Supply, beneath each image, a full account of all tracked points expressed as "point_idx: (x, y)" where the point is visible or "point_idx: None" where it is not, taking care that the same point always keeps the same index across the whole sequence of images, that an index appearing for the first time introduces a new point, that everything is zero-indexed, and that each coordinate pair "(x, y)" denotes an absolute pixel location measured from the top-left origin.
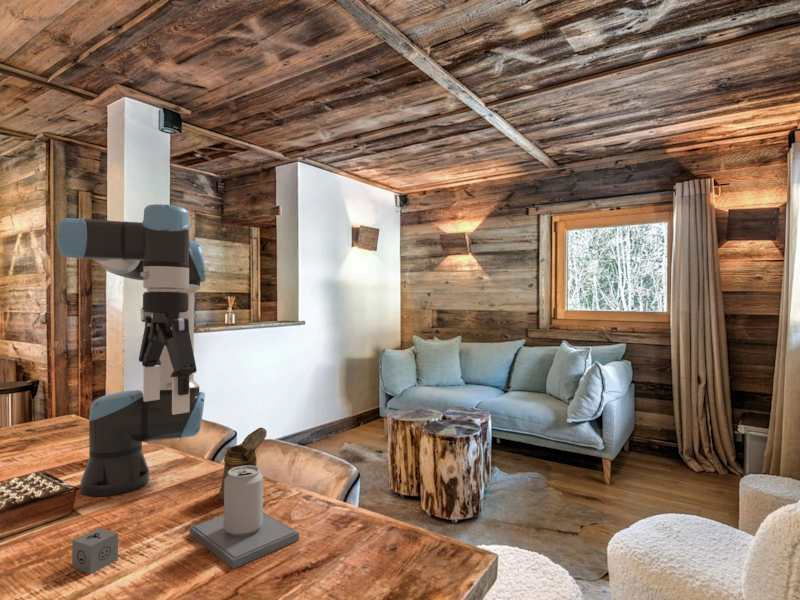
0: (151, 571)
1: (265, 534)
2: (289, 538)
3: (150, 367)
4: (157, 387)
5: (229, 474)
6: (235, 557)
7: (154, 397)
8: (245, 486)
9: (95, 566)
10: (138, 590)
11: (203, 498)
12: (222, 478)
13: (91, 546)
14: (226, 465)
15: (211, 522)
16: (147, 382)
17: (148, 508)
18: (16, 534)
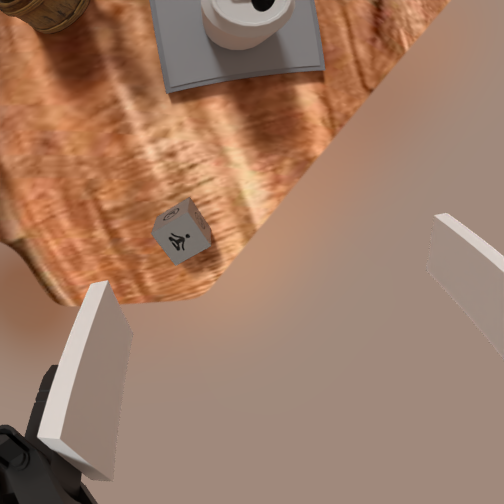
0: (252, 161)
1: None
2: None
3: (97, 467)
4: (98, 334)
5: (255, 26)
6: (320, 64)
7: (113, 309)
8: (293, 10)
9: (206, 225)
10: (289, 182)
11: (41, 59)
12: (32, 24)
13: (210, 244)
14: (31, 12)
15: (174, 58)
16: (114, 397)
17: (35, 148)
18: (58, 299)
